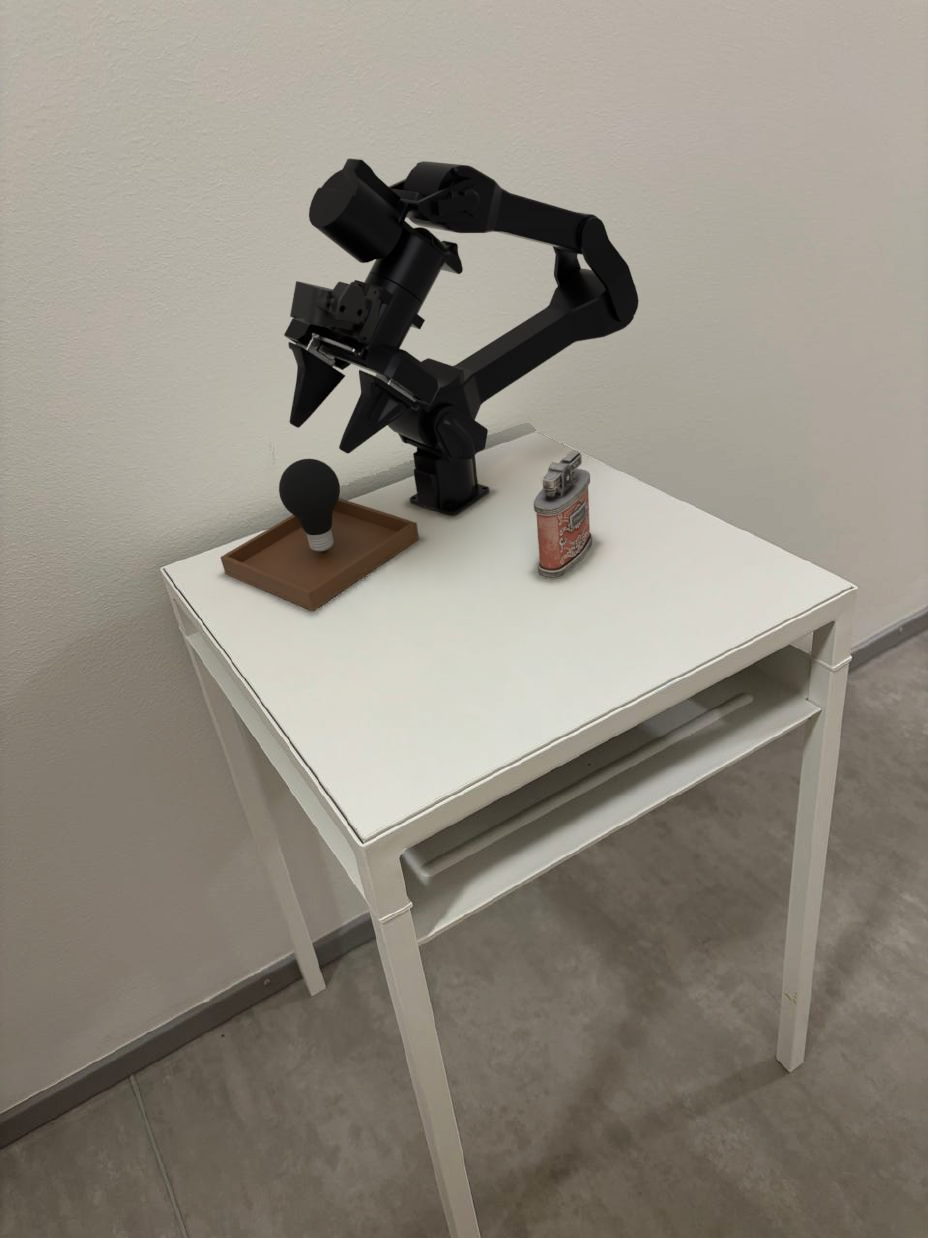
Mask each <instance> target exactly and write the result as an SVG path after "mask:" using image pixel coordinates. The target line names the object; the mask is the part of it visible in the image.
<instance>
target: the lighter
mask: <svg viewBox="0 0 928 1238" xmlns="http://www.w3.org/2000/svg"><path fill="white" fill-rule="evenodd" d="M582 458H583V457H582V452H580V450H578V449H571V450H570V451H569V452H568V453H566V454H565V456H563V457H562V458H561V460H560V461H558V462H553V461H552V462H551V463H550V464H549V465H548V469H547V472H546V473H545V474H544V475H543V477H542V489H540V491H539V492H538V494H537V495H536V497H535V498H534V500H533V511H534V512H535V513H536V526H537V527H536V528H537V544H538V557H539V561H538V563H537V573H538V575H539V576H540V577H542V578H544V579H548V580H558V579H561V578H563V577H564V576H566V575H567V574H568V573H570V572H571V571H573V570H574V569H575V568H576V567H577V566H578V565H579V564H580V563H582V561H583V560H584V559H585V558H586V556H587V555H588V553H589V551H590V549H591V547H592V546H593V534H592V533H591V530H590V529H591V527H590V498H589V497H590V495H589V486H590V484H591V473H590V472H589V471H588V470H587V469H582V468H579V467H580V466H581V465H582V464H583V461H582Z"/></svg>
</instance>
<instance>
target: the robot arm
mask: <svg viewBox="0 0 928 1238" xmlns="http://www.w3.org/2000/svg"><path fill="white" fill-rule="evenodd" d="M345 161H346V162H345V163H344V165H343V167H342V169H340V170H338V171H337V172H335V173H334V174H332V175H330V177H329V178H328V179H327V180H326V181H325V182H324V183H323V184H322V186H321V187H318V188H317V189H316V191H315V192H314V194H313V197H312V199H311V201H310V205H309V209H308V219H309V222H310V224H311V225H312V226H313V227H314V228H315V229H316V230H317V231H319V232H320V233H322V234H323V235H325V237H326V238H328V239H329V240H331V241H332V242H333V243H334V244H336V245H337V246H338V247H339V248H341V249H342V250H343V251H344V252H346V253H347V254H348V255H350V256H351V257H352V258H354V259H355V260H356V261H357V262H359V263H361V264H368V263H370V262H373V261H374V262H373V264H372V267H371V268H370V270H369V272H368V274H367V276H366V278H365V279H364V281H361V280H357V279H354V281H351V282H350V283H348V282H344V281H338V282H337V283H336V284H335V286H334V288H329V287H326V286H325V287H324V286H320V285H315V284H311V283H307V282H303V281H298V280H296V281H295V285H294V290H293V291H294V292H293V297H292V303H291V308H290V313H289V317H290V318H292V319H291V321H290V322H289V325H288V327H287V329H286V330H285V332H284V334H283V336H284V337H285V338H286V339H288V340H290V341H288V344H287V345H288V349H290V350H291V351H292V354H293V356H294V360H295V362H296V366H297V370H296V380H295V386H294V392H293V398H292V402H291V403H292V404H291V408H290V409H291V410H290V416H289V424H290V425H291V426H293V427H295V428H297V429H298V428H301V427H302V425H304V424H305V423H306V422H307V421H308V420H309V419H310V418H311V417H312V415H313V414H314V413H315V412H316V411H317V410H318V408H319V407H320V406H321V405H322V404H323V403H324V402H325V401H326V399H327V398H328V397H329V396H330V395H331V394H332V393H333V392H334V390H335V389H336V388H337V387H338V386H339V384H341V382H342V381H343V380H344V379H345V377H346V374H344V373H343V372H341V371H344V370H345V369H346V368H348V367H349V366H351V365H353V366H355V367H359V368H361V369H364V370H366V371H369V372H371V373H368V372H366V371H363V370H361V369H359V370H358V377H359V378H358V379H359V386H360V394H359V397H358V399H357V402H356V404H355V405H354V409H353V410H352V413H351V415H350V417H349V420H348V422H347V424H346V427H345V430H344V431H343V434H342V437H341V440H340V443H339V446H338V448H339V450H340V451H341V452H344V453H345V454H350V453H352V452H353V451H355V450H356V449H358V448H359V447H360V446H361V445H363V444H364V443H366V442H367V441H368V440H370V439H371V438H372V437H373V436H375V435H376V434H377V433H379V432H380V431H382V430H383V429H385V428H386V427H387V426H388V428H389V429H390V430H392V431H393V432H394V433H395V434H397V435H398V437H399V438H400V441H401V442H402V443H404V444H408V445H410V446H413V447H414V448H416V451H415V452H413V453H412V455H413V462H414V469H413V476H414V482H415V490H416V491H415V492H416V493H415V494H413V495H412V496H410V497H409V503H410V504H411V505H415V506H417V507H421V508H425V509H428V510H431V511H434V512H438V513H441V514H443V515H448V516H456V515H458V514H459V513H461V512H462V511H464V510H466V509H467V508H468V507H470V506H471V505H473V504H474V503H475V502H477V501H478V500H480V499H481V498H483V497H484V496H486V495H487V494H489V493H490V487H489V486H487V485H484V484H479V480H478V473H477V471H478V470H477V464H476V463H477V461H476V455H477V453H480V452H481V451H483V450H485V449H486V444H487V438H488V432H489V429H488V428H487V427H485V426H484V425H483V424H481V423H480V422H478V421H477V420H476V418H477V415H478V413H479V411H480V409H481V406H482V405H483V404H484V403H485V402H487V401H488V400H489V399H491V398H493V397H494V396H496V395H497V394H499V393H500V392H502V391H503V390H505V389H506V388H508V387H509V386H511V385H513V384H514V383H515V382H517V381H518V380H520V379H522V378H523V377H525V376H526V375H527V374H529V373H530V372H532V371H533V370H536V369H537V368H538V367H540V366H541V365H542V364H544V363H546V362H547V361H549V360H550V359H552V358H554V357H555V356H557V355H558V354H559V353H561V352H562V351H564V350H565V349H567V348H568V347H570V346H571V345H573V344H574V343H575V344H576V343H577V342H578V343H579V342H583V341H587V340H595V339H599V338H600V339H601V338H605V337H608V336H610V335H612V334H614V333H617V332H621V331H622V330H624V329H626V328H627V327H628V326H629V325H630V324H631V323H632V321H633V320H634V318H635V315H636V313H637V311H638V308H639V294H638V291H637V286H636V285H635V284H636V283H634V279H633V275H632V272H631V270H630V266H629V264H628V263H627V262H626V260H625V259H624V258H623V256H622V255H621V253H620V252H619V251H618V249H617V248H616V247H615V246H614V244H613V243H612V241H610V238H609V235H608V231H607V230H606V226H605V224H604V222H603V220H601V219H600V218H599V217H598V216H597V215H595V214H591V213H586V212H585V213H584V212H578V211H574V210H571V209H570V210H569V209H566V208H564V207H560V206H557V205H553V204H549V203H546V202H542V201H538V200H535V199H532V198H529V197H525V196H522V195H519V194H515V193H512V192H510V191H508V190H506V189H504V188H502V187H501V185H499V183H498V182H497V181H496V180H495V179H494V178H492V177H490V176H489V175H487V174H485V173H483V172H482V171H480V170H479V169H477V168H475V167H473V166H472V165H467V164H457V163H447V162H438V161H437V162H436V161H427V160H426V161H425V160H423V161H419V162H417V163H416V165H415V166H414V167H413V168H412V169H410V171H409V173H408V174H407V176H406V177H405V178H404V179H402V180H400V181H397V182H395V183H393V184H391V185H388V184H387V183H385V182H384V180H382V179H381V178H379V177H378V175H377V174H376V173H375V172H374V170H373V168H372V167H371V166H369V164H368V163H366V162H365V160H363V159H360V158H347V159H346V160H345ZM406 219H408V220H409V221H410V222H411V223H413V224H415V225H416V226H417V227H413V226H412V225H410V224H409V223H408V222H407V221H406ZM429 229H433V230H440V231H446V232H451V233H457V234H487V233H494V232H495V233H499V234H503V235H507V236H511V237H515V238H519V239H523V240H527V241H531V242H534V243H539V244H541V245H546V246H551V247H552V248H553V252H554V253H555V258H554V267H553V278H554V280H555V282H556V285H557V286H556V288H555V289H554V291H553V293H552V296H551V298H550V301H549V303H548V306H546V307H545V308H543V309H542V310H540V311H539V312H537V313H535V314H534V315H532V316H530V317H529V318H527V319H526V320H524V321H523V322H521V323H520V324H518V325H516V326H515V327H513V328H512V329H510V330H509V331H507V332H506V333H504V334H502V335H500V336H499V337H497V338H496V339H494V340H493V341H491V342H490V343H488V344H486V345H484V346H483V347H481V348H480V349H478V350H477V351H475V352H473V353H472V354H471V355H469V356H467V357H466V358H464V359H463V360H461V361H459V362H458V363H456V364H454V365H451V364H449V363H444V362H441V361H438V360H436V359H433V358H430V357H428V358H425V359H424V360H422V361H421V360H419V359H418V358H416V357H415V356H414V355H412V354H411V353H409V351H407V350H405V349H403V348H401V346H402V345H403V343H404V341H405V339H406V337H407V335H408V334H409V331H410V329H411V328H413V329H418V330H421V328H422V327H423V326H424V324H425V321H426V319H425V318H424V317H422V316H420V315H419V313H420V310H421V309H422V307H423V305H424V304H425V301H426V299H427V298H428V295H429V294H430V292H431V290H432V288H433V286H434V284H435V282H436V281H437V278H438V277H439V275H440V273H441V271H445V272H448V273H452V274H457V275H461V274H462V273H463V272H464V271H463V270H464V267H463V264H462V259H461V257H460V255H459V244H458V243H457V242H453V241H447V240H440V239H439V238H438V237H437V236H436V235H435V234H434V233H432V231H430V230H429ZM578 255H582V257H583V260H584V261H585V263H586V265H587V266H588V267H589V268H582V266H581V264H580V261H579V257H578ZM336 368H337V369H336ZM340 370H341V371H340ZM372 373H374V374H375V375H374V374H372Z"/></svg>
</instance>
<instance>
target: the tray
mask: <svg viewBox="0 0 928 1238" xmlns="http://www.w3.org/2000/svg"><path fill="white" fill-rule="evenodd" d="M331 531H332V536H333V541H334V542H333V545H332V547H331V548H329V549H328V550H327V551H326V552H325V553H320V552H318V551H314V550H312V549H311V548H310V547H309V542H308V537H307V534H306V533H305V531H304V529H303V528H302V526H301V523H300V522H299V520H298V519H297V518H296V516H294V515H293V514H291V515H290V516H288V517H287V518H284V519H283V520H282V521H280V522H278V523H277V524H275V525H273V526H271V527H269V528H268V529H266V530H264V531H263V532H261V533H259V534H257V535H256V536H254V537H253V538H252V537H251V538H250V539H249V540H247V541H246V542H244V543H242V544H240V545H239V546H237V547H235V548H233V549H231V550H230V551H229V552H226V553H225V554H223V555H221V556H220V562H221V565H222V568H223V571H224V574H225V575H227V576H229V577H232V578H234V579H237V580H239V581H241V582H243V583H246V584H247V585H249V586H253V587H255V588H258V589H259V590H262V591H264V592H267V593H268V594H271V595H273V596H276V597H278V598H281V599H283V600H285V601H287V602H290V603H292V604H295V605H297V606H299V607H301V608H304V609H307V610H309V611H311V612H314V611H315V610H317V609H319V608H320V607H321V606H324V604H325V603H328V602H329V601H330V600H332V599H333V598H334V597H336V596H338V595H339V594H341V593H342V592H344V591H345V590H347V589H348V588H350V587H351V586H353V585H354V584H355V583H358V581H360V580H362V579H363V578H364V577H366V576H367V575H368V574H370V573H371V572H374V571H375V570H376V569H377V568H379V567H381V566H382V565H384V564H385V563H387V562H388V561H389V560H391V559H392V558H394V557H395V556H397V555H399V554H400V553H401V552H403V551H404V550H405V549H407V548H408V547H410V546H412V545H413V544H414V543H416V542H417V541H419V539H420V537H419V531H418V525H417V522H416V521H412V520H409V519H406V518H402V517H401V516H397V515H394V514H390V513H387V512H384V511H381V510H378V509H376V508H372V507H369V506H367V505H363V504H359V503H356V502H353V501H351V500H347V499H344V498H341V497H339V500H338V502H337V504H336V506H335V507H334V510H333V514H332V528H331Z"/></svg>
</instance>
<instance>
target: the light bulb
mask: <svg viewBox="0 0 928 1238" xmlns="http://www.w3.org/2000/svg"><path fill="white" fill-rule="evenodd" d="M278 493H279V498H280V501H281V503H282V506H284V508H285V509H286V510H287V511H288V512H289V513H290V514H291V515H294V516H296V518H297V519H298V520H299V522H300V523H301V526H302V528H303V529H304V531H305V533H306V534H307V537H308V542H309V547H310V548H311V549H312V550H314V551H318V552H320V553H325V552H326V551H327V550H328V549H329V548H331V547H332V545H333V542H334V541H333V536H332V531H331V528H332V514H333V510H334V507H335V506H336V504H337V502H338V500H339V498H340V495H341V484H340V481H339V477H338V475H337V474H336V471H334V470H333V468H332V467H331V466H330V465H328V464H327V463H326V462H324V461H322V460H319V459H314V458H302V459H299V460H296V461H294V462H292V463H291V464H290V465H288V467H286V468H285V470H284V471H283V473H282V474H281V476H280V480H279V483H278Z"/></svg>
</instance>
